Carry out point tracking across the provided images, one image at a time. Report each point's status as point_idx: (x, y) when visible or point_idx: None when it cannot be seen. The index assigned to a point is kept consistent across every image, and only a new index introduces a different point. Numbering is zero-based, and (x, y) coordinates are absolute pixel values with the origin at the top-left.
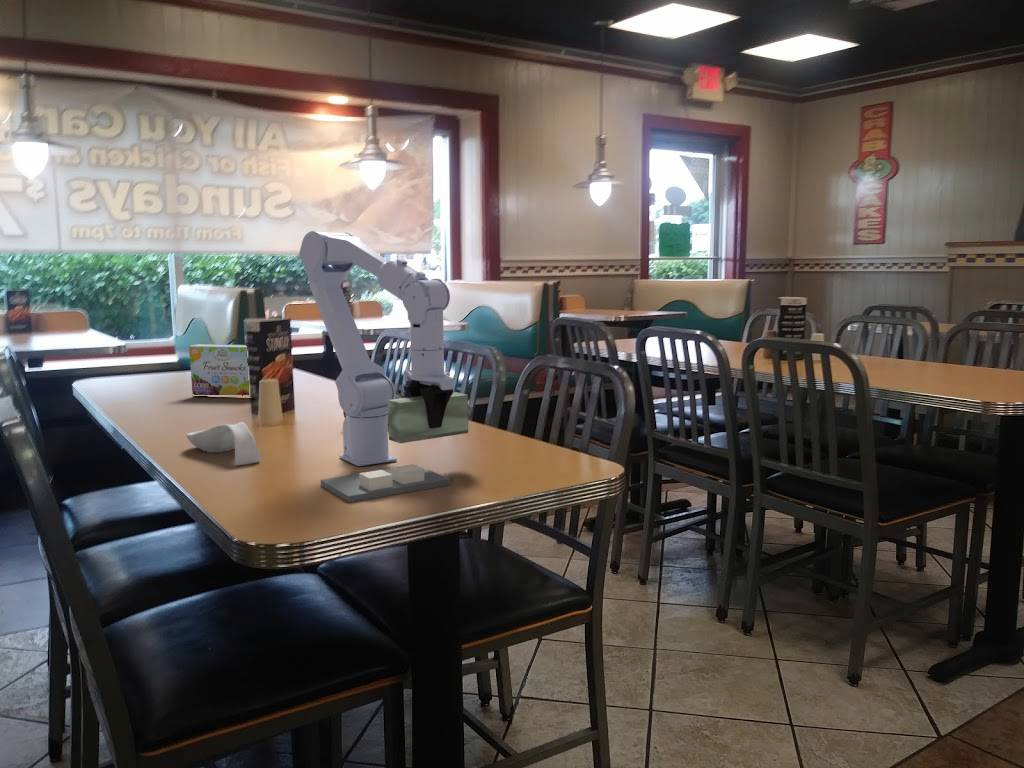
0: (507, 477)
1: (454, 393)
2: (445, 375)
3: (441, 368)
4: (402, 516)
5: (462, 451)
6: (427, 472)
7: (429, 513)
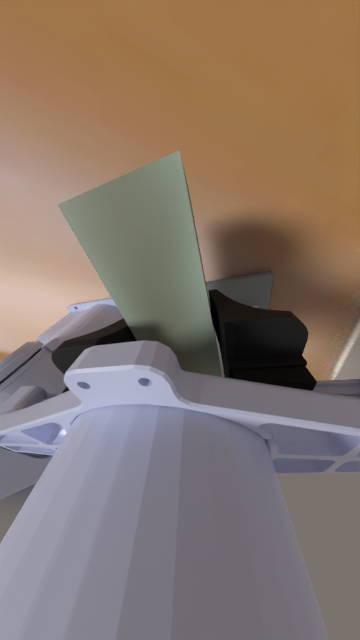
0: (307, 138)
1: (107, 228)
2: (267, 416)
3: (282, 521)
4: (333, 346)
5: (55, 159)
6: (221, 290)
7: (351, 326)
